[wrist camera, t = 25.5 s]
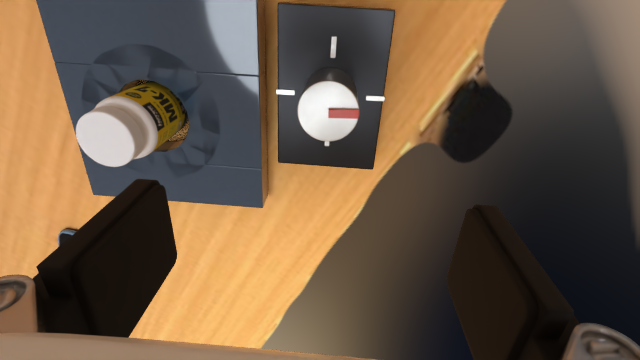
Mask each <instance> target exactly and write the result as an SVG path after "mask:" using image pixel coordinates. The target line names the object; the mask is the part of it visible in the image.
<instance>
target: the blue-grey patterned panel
mask: <svg viewBox="0 0 640 360" xmlns="http://www.w3.org/2000/svg"><path fill="white" fill-rule="evenodd" d="M36 1H37V5H38V8H39V11H40V15H41V18H42V22H43V25H44V28H45V32H46V35H47V39H48V42H49V45H50V49H51V52H52V56H53V59H54V62H55V66H56V69H57V73H58V76H59V80H60V83H61V86H62V90H63V93H64V97H65V100H66V103H67V107H68V110H69V114H70V117H71V120H72V124H73V127H74V130H75V134H76V125H77V123H78V121H79V119H80V118H81V117H82V116H83V115H84V114H86V113H88V112H90V111H92V110H93V109H94V108H95V107H96V105H97V104H98V103H99V102H100V101H102V100H104V99H106V98H108V97H110V96H113V95H115V94H118V93H120V92H123V91H125V90H128V89H130V88H132V87H134V86H135V85H136V84H137V83H138V81H139V80H147V81H154V82H157V83H159V84H161V85H163V86H165V87H167V88H169V89H170V90H171V91H172V92H173V93H174V94H175V95H176V96H177V97H178V98H179V99H180V100H181V102H182V104H183V106H184V108H185V110H186V111H187V113H188V121H189V129H188V132H187V136H186V139H183V140H180V141H177V142H176V141H165V142H164V143H163V144H162V145H160V146H159V147H158V148H156V149H155V150H154V151H153V152H152V153H150V154H148V155H147V156H145V157H142V158H138V159H133V160H132V161H130V162H129V163H127V164H125V165H123V166H119V167H110V166H105V165H102V164H100V163H98V162H96V161H94V160H93V159H91V158H90V157H89V156H88V155H87V154H86V153H85V152H84V151H83V150H82V148H81V147H80V145H79V147H80V151H81V154H82V158H83V161H84V164H85V168H86V171H87V175H88V178H89V181H90V185H91V188H92V192H93V195H102V196H115V197H116V196H118V195H119V194H120V193H121V192H122V191H123V190H124V189H126V188H127V187H128V186H129V185H130V184H131V183H132V182H134V181H135V180H136V179H149V180H157V181H159V183H160V185H163V186H164V187H165V190H166V195H167V200H168V201H179V202H192V203H205V204H218V205H231V206H243V207H256V208H263V206H264V204H265V201H266V198H267V196H268V170H267V122H266V71H265V69H266V68H265V16H264V0H36ZM77 141H78V140H77ZM78 144H79V143H78Z"/></svg>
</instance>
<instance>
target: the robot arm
mask: <svg viewBox="0 0 640 360" xmlns="http://www.w3.org/2000/svg"><path fill="white" fill-rule="evenodd" d="M176 259H177V250H176V245H175V239H174V234H173V228H172V223H171V217H170V211H169V206H168V200H167V195H166V190H165V187H164V186H163V185H160V183H159V181H157V180H149V179H136V180H135V181H134V182H132V183H131V184H130V185H129V186H128V187H127V188H126V189H124V190H123V191H122V192H121V193H120V194H119V195H118V196H116V197H115V198H114V199H113V200H112V201H111V202H110V203H108V204H107V205H106V206H105V207H104V208H103V209H102V210H100V211H99V212H98V213H97V214H96V215H95V216H94V217H92V218H91V219H90V220H89V221H88V222H87V223H86V224H84V225H83V226H82V227H81V228H80V229H79V230H78V231H77V232H75V233H74V234H73V235H72V236H71V237H70V238H69V239H67V240H66V241H65V242H64V243H63V244H62V245H61V246H59V247H58V248H57V249H56V250H55V251H54V252H53V253H51V254H50V255H49V256H48V257H47V258H46V259H45V260H43V261H42V262H41V263H40V264H39V265H38V266H37V269H38V271H39V273H38V274H37V275H36V276H35V277H34V278H33V279H32V278H30V277H28V276H25V275H7V276H3V277H0V360H377V359H366V358H355V357H345V356H334V355H323V354H312V353H301V352H289V351H278V350H267V349H256V348H244V347H233V346H221V345H209V344H197V343H185V342H173V341H161V340H149V339H137V338H128V337H129V336H130V334H131V333H132V331H133V329H134V328H135V326H136V325H137V323H138V321H139V320H140V318H141V317H142V315H143V314H144V312H145V310H146V309H147V307H148V306H149V304H150V302H151V301H152V299H153V298H154V296H155V295H156V293H157V291H158V290H159V288H160V287H161V285H162V283H163V282H164V280H165V279H166V277H167V276H168V274H169V272H170V271H171V269H172V268H173V266H174V264H175V262H176ZM447 287H448V290H449V292H450V295H451V298H452V301H453V303H454V306H455V309H456V312H457V314H458V317H459V320H460V323H461V326H462V328H463V331H464V334H465V337H466V339H467V342H468V345H469V348H470V350H471V353H472V356H473V359H474V360H640V347H639V346H638V345H637V344H636V343H634V342H633V341H632V340H631V339H629V338H628V337H626V336H624V335H623V334H621V333H619V332H617V331H615V330H612V329H610V328H608V327H606V326H602V325H598V324H594V323H582V324H580V323H579V322H578V320H577V319H576V317H575V316H574V315H573V314H574V310H573V309H572V308H571V307H570V305H569V304H568V302H567V301H566V300H565V298H564V297H563V296H562V294H561V293H560V291H559V290H558V289H557V287H556V286H555V285H554V283H553V282H552V281H551V279H550V278H549V277H548V275H547V274H546V272H545V271H544V270H543V268H542V267H541V266H540V264H539V263H538V262H537V260H536V259H535V258H534V256H533V255H532V253H531V252H530V251H529V249H528V248H527V247H526V245H525V244H524V243H523V241H522V240H521V239H520V237H519V236H518V235H517V233H516V232H515V231H514V229H513V228H512V226H511V225H510V224H509V222H508V221H507V220H506V218H505V217H504V216H503V214H502V213H501V212H500V210H499V209H498V208H497V207H496V206H489V205H474V207H473V208H472V209H468V210H467V212H466V214H465V218H464V221H463V224H462V227H461V231H460V234H459V238H458V241H457V244H456V247H455V251H454V254H453V257H452V261H451V264H450V268H449V271H448V274H447Z"/></svg>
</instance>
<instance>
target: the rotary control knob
mask: <svg viewBox="0 0 640 360" xmlns="http://www.w3.org/2000/svg"><path fill="white" fill-rule="evenodd" d="M297 116H298V120H299V123H300V125H301V126H302V128H303V129H304V131H305V132H306V133H307V134H309V135H310V136H311V137H313V138H315V139H318V140H321V141H336V140H339V139H342V138H344V137H345V136H347V135H348V134H349V133H350V132H351V131H352V130H353V129H354V128H355V126H356V124H357V122H358V119H359V103H358V96H357V90H356V86H355V83H354V81H353V80H352V78H351V77H350V76H349V75H348V74H347V73H345V72H344V71H342V70H340V69H336V68H325V69H321V70H319V71H317V72H315V73H314V74H313V75H312V76H311V77H310V78H309V79H308V81H307V83H306V85H305V87H304V90H303V92H302V94H301V97H300V99H299V102H298V106H297Z"/></svg>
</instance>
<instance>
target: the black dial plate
mask: <svg viewBox="0 0 640 360" xmlns="http://www.w3.org/2000/svg"><path fill="white" fill-rule="evenodd" d="M394 18H395V10H393V9H387V8H371V7H354V6H338V5H322V4H306V3H290V2H281V3H278V89H276V94H278V162H279V163H293V164H306V165H320V166H333V167H346V168H360V169H373V167H374V160H375V153H376V146H377V139H378V132H379V124H380V117H381V110H382V103H383V101H385V96H384V89H385V82H386V75H387V68H388V61H389V53H390V46H391V39H392V32H393V25H394ZM325 68H336V69H340V70H342V71H344V72H345V73H347V74H348V75H349V76H350V77H351V78H352V80H353V81H354V83H355V86H356V90H357V96H358V103H359V119H358V122H357V124H356V126H355V128H354V129H353V130H352V131H351V132H350V133H349V134H348V135H347V136H345V137H344V138H342V139H339V140H336V141H321V140H318V139H315V138H313V137H311V136H310V135H309V134H307V133H306V132H305V131H304V129H303V128H302V126H301V125H300V123H299V120H298V116H297V106H298V102H299V99H300V97H301V94H302V92H303V90H304V87H305V85H306V83H307V81H308V79H309V78H310V77H311V76H312V75H313V74H314V73H315V72H317V71H319V70H321V69H325Z"/></svg>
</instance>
